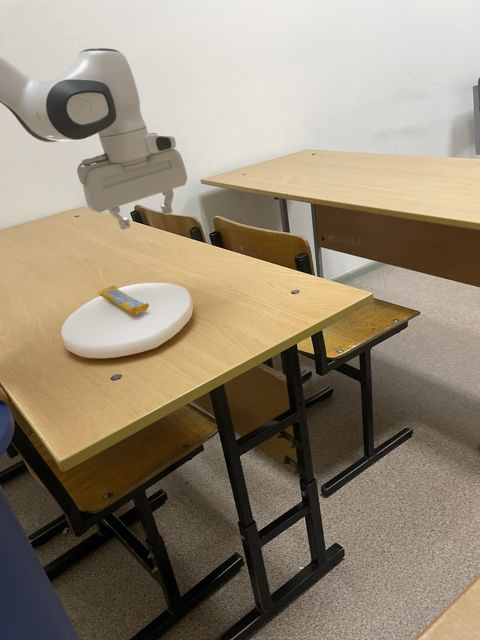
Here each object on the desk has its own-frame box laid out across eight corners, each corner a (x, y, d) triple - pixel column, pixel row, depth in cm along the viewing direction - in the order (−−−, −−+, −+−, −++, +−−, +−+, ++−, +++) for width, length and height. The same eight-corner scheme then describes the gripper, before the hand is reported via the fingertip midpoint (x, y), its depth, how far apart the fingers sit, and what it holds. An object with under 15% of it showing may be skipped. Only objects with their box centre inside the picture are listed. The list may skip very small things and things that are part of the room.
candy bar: (152, 310, 102) (150, 302, 101) (133, 318, 100) (130, 310, 99) (116, 291, 114) (114, 283, 113) (98, 298, 112) (95, 289, 111)
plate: (167, 339, 93) (31, 348, 98) (176, 369, 96) (45, 375, 102) (202, 265, 115) (90, 276, 120) (208, 291, 119) (100, 300, 124)
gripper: (80, 163, 90) (105, 240, 97) (182, 135, 100) (198, 207, 107) (67, 161, 95) (92, 235, 102) (166, 135, 104) (182, 204, 111)
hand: (147, 220), depth 104 cm, fingers open, 8 cm apart
